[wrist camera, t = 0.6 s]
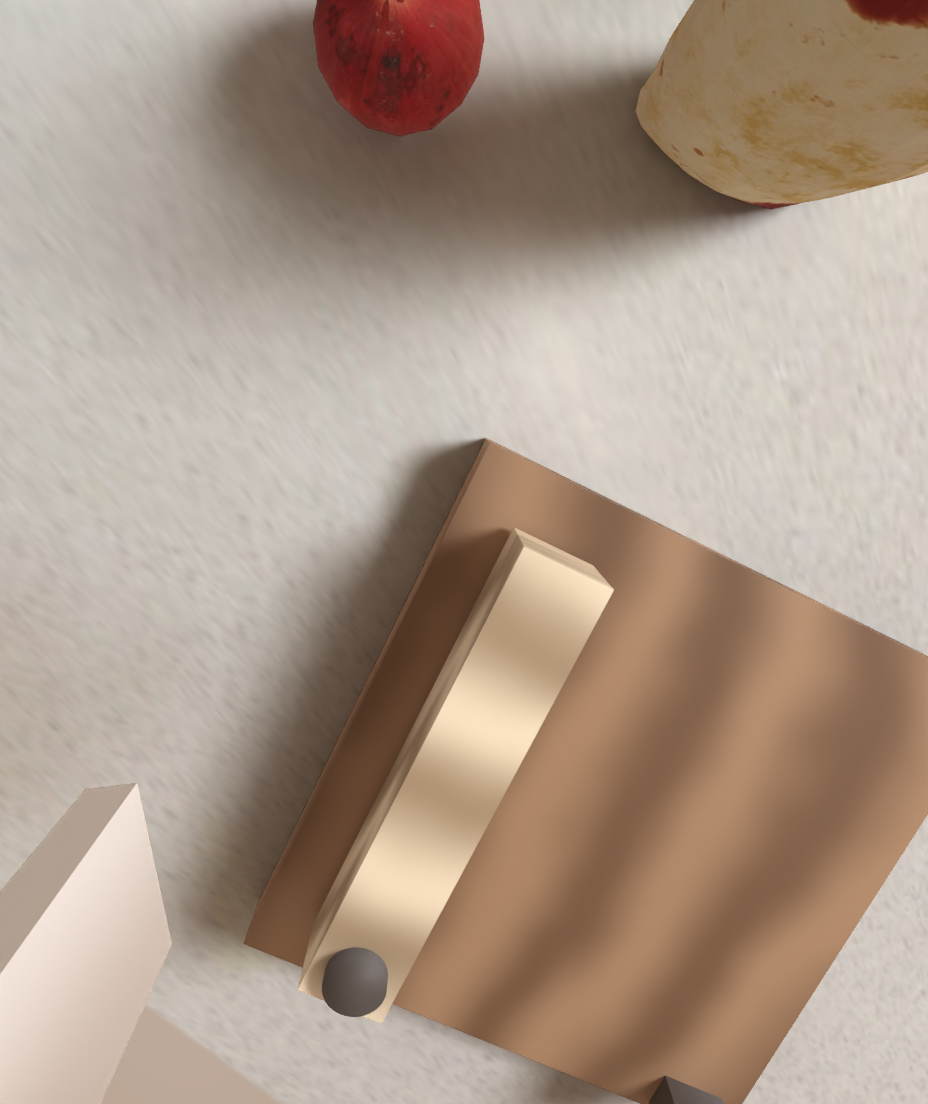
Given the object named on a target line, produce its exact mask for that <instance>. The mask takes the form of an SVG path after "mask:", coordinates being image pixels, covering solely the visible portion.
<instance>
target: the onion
mask: <svg viewBox="0 0 928 1104" xmlns="http://www.w3.org/2000/svg"><path fill="white" fill-rule="evenodd" d="M313 27H314V36H315V44H316V52H317V60H318V67H319V69H320V71H321V73H322V74H323V76H324V78H325V80H326V82H327V84H328V86H329V87H330V89H331V91H332V93H333V95H334V97H335V98H336V100H337V101H338V102H339V103H340V104H341V105H342V106H343V107H344V108H345V109H347V110H348V111H349V112H350V113H351V114H352V115H353V116H355V117H356V118H357V119H358V120H359V121H360V122H361V123H362V124H364V125H365V126H366V127H367V128H370V129H374V130H378V131H382V132H386V133H389V134H393V135H397V136H403V135H408V134H412V133H417V132H421V131H425V130H430V129H432V128H434V127H435V126H436V125H437V124H438V123H440V122H441V121H442V120H443V119H444V118H446V117H447V116H448V115H449V114H450V113H451V112H453V111H454V110H455V109H456V108H457V107H459V106H460V105H461V104H462V102H463V100H464V98H465V97H466V95H467V93H468V91H469V90H470V88H471V86H472V84H473V83H474V81H475V79H476V77H477V76H478V73H479V67H480V61H481V55H482V49H483V43H484V31H483V24H482V17H481V9H480V2H479V0H317V4H316V10H315V15H314V21H313Z"/></svg>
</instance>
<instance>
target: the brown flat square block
mask: <svg viewBox="0 0 928 1104" xmlns="http://www.w3.org/2000/svg"><path fill="white" fill-rule="evenodd" d="M514 527H515V528H517V529H519V530H521V531H523V532H525V533H527V534H529V535H531V536H533V537H535V538H537V539H539V540H541V541H544V542H546V543H548V544H550V545H552V546H554V547H556V548H558V549H560V550H562V551H564V552H566V553H568V554H571V555H573V556H575V557H577V558H579V559H581V560H583V561H585V562H587V563H589V564H591V565H593V566H594V567H595V568H596V569H597V571H598V572H599V573H600V574H601V575H602V576H603V578H604V579H605V580H606V581H607V582H608V583H609V585H610V586H611V587H612V588H613V589H614V591H613V593H612V595H611V597H610V599H609V600H608V602H607V604H606V606H605V608H604V610H603V612H602V613H601V615H600V617H599V619H598V621H597V623H596V625H595V626H594V628H593V630H592V632H591V634H590V636H589V638H588V640H587V641H586V643H585V645H584V647H583V649H582V651H581V653H580V654H579V656H578V658H577V660H576V662H575V664H574V666H573V667H572V669H571V671H570V673H569V675H568V677H567V679H566V681H565V682H564V684H563V686H562V688H561V690H560V692H559V694H558V695H557V697H556V699H555V701H554V703H553V705H552V707H551V708H550V710H549V712H548V714H547V716H546V718H545V720H544V722H543V723H542V725H541V727H540V729H539V731H538V733H537V735H536V736H535V738H534V740H533V742H532V744H531V746H530V748H529V749H528V751H527V753H526V755H525V757H524V759H523V761H522V763H521V764H520V766H519V768H518V770H517V772H516V774H515V776H514V777H513V779H512V781H511V783H510V785H509V787H508V789H507V790H506V792H505V794H504V796H503V798H502V800H501V802H500V804H499V805H498V807H497V809H496V811H495V813H494V815H493V817H492V818H491V820H490V822H489V824H488V826H487V828H486V830H485V831H484V833H483V835H482V837H481V839H480V841H479V843H478V845H477V846H476V848H475V850H474V852H473V854H472V856H471V858H470V859H469V861H468V863H467V865H466V867H465V869H464V871H463V872H462V874H461V876H460V878H459V880H458V882H457V884H456V886H455V887H454V889H453V891H452V893H451V895H450V897H449V899H448V900H447V902H446V904H445V906H444V908H443V910H442V912H441V913H440V915H439V917H438V919H437V921H436V923H435V925H434V927H433V928H432V930H431V932H430V934H429V936H428V938H427V940H426V941H425V943H424V945H423V947H422V949H421V951H420V953H419V954H418V956H417V958H416V960H415V962H414V964H413V966H412V968H411V969H410V971H409V973H408V975H407V977H406V979H405V981H404V982H403V984H402V986H401V988H400V990H399V992H398V994H397V995H396V997H395V999H394V1001H393V1003H392V1004H395V1005H397V1006H400V1007H402V1008H405V1009H407V1010H410V1011H412V1012H414V1013H417V1014H419V1015H422V1016H424V1017H427V1018H429V1019H432V1020H434V1021H437V1022H439V1023H442V1024H444V1025H447V1026H449V1027H452V1028H454V1029H457V1030H459V1031H462V1032H464V1033H467V1034H469V1035H472V1036H474V1037H477V1038H479V1039H482V1040H484V1041H487V1042H489V1043H492V1044H494V1045H496V1046H499V1047H501V1048H504V1049H506V1050H509V1051H511V1052H514V1053H516V1054H519V1055H521V1056H524V1057H526V1058H529V1059H531V1060H534V1061H536V1062H539V1063H541V1064H544V1065H546V1066H549V1067H551V1068H554V1069H556V1070H559V1071H561V1072H564V1073H566V1074H569V1075H571V1076H574V1077H576V1078H578V1079H581V1080H583V1081H586V1082H588V1083H591V1084H593V1085H596V1086H598V1087H601V1088H603V1089H606V1090H608V1091H611V1092H613V1093H616V1094H618V1095H621V1096H623V1097H626V1098H628V1099H631V1100H633V1101H636V1102H638V1103H641V1104H742V1103H743V1102H744V1100H745V1099H746V1097H747V1095H748V1094H749V1092H750V1091H751V1089H752V1088H753V1086H754V1084H755V1083H756V1081H757V1080H758V1078H759V1077H760V1075H761V1074H762V1072H763V1070H764V1069H765V1067H766V1066H767V1064H768V1063H769V1061H770V1060H771V1058H772V1056H773V1055H774V1053H775V1052H776V1050H777V1049H778V1047H779V1045H780V1044H781V1042H782V1041H783V1039H784V1038H785V1036H786V1035H787V1033H788V1031H789V1030H790V1028H791V1027H792V1025H793V1024H794V1022H795V1021H796V1019H797V1017H798V1016H799V1014H800V1013H801V1011H802V1010H803V1008H804V1006H805V1005H806V1003H807V1002H808V1000H809V999H810V997H811V996H812V994H813V992H814V991H815V989H816V988H817V986H818V985H819V983H820V982H821V980H822V978H823V977H824V975H825V974H826V972H827V971H828V969H829V968H830V966H831V964H832V963H833V961H834V960H835V958H836V957H837V955H838V953H839V952H840V950H841V949H842V947H843V946H844V944H845V943H846V941H847V939H848V938H849V936H850V935H851V933H852V932H853V930H854V929H855V927H856V925H857V924H858V922H859V921H860V919H861V918H862V916H863V914H864V913H865V911H866V910H867V908H868V907H869V905H870V904H871V902H872V900H873V899H874V897H875V896H876V894H877V893H878V891H879V890H880V888H881V886H882V885H883V883H884V882H885V880H886V879H887V877H888V875H889V874H890V872H891V871H892V869H893V868H894V866H895V865H896V863H897V861H898V860H899V858H900V857H901V855H902V854H903V852H904V851H905V849H906V847H907V846H908V844H909V843H910V841H911V840H912V838H913V836H914V835H915V833H916V832H917V830H918V829H919V827H920V826H921V824H922V822H923V821H924V819H925V818H926V816H927V815H928V656H926V655H924V654H922V653H920V652H918V651H916V650H914V649H912V648H910V647H908V646H906V645H904V644H902V643H900V642H898V641H896V640H894V639H892V638H890V637H888V636H886V635H884V634H882V633H880V632H878V631H876V630H874V629H872V628H870V627H868V626H865V625H863V624H861V623H859V622H857V621H855V620H853V619H851V618H849V617H847V616H845V615H843V614H841V613H839V612H837V611H835V610H833V609H831V608H829V607H827V606H825V605H823V604H821V603H819V602H817V601H815V600H813V599H811V598H809V597H807V596H805V595H803V594H801V593H799V592H797V591H795V590H793V589H791V588H789V587H786V586H784V585H782V584H780V583H778V582H776V581H774V580H772V579H770V578H768V577H766V576H764V575H762V574H760V573H758V572H756V571H754V570H752V569H750V568H748V567H746V566H744V565H742V564H740V563H738V562H736V561H734V560H732V559H730V558H728V557H726V556H724V555H722V554H720V553H718V552H716V551H714V550H712V549H710V548H708V547H705V546H703V545H701V544H699V543H697V542H695V541H693V540H691V539H689V538H687V537H685V536H683V535H681V534H679V533H677V532H675V531H673V530H671V529H669V528H667V527H665V526H663V525H661V524H659V523H657V522H655V521H653V520H651V519H649V518H647V517H645V516H643V515H641V514H639V513H637V512H635V511H633V510H631V509H629V508H626V507H624V506H622V505H620V504H618V503H616V502H614V501H612V500H610V499H608V498H606V497H604V496H602V495H600V494H598V493H596V492H594V491H592V490H590V489H588V488H586V487H584V486H582V485H580V484H578V483H576V482H574V481H572V480H570V479H568V478H566V477H564V476H562V475H560V474H558V473H556V472H554V471H552V470H550V469H547V468H545V467H543V466H541V465H539V464H537V463H535V462H533V461H531V460H529V459H527V458H525V457H523V456H521V455H519V454H517V453H515V452H513V451H511V450H509V449H507V448H505V447H503V446H501V445H499V444H497V443H495V442H493V441H491V440H489V439H487V438H486V439H485V441H484V443H483V445H482V447H481V449H480V451H479V453H478V455H477V457H476V459H475V461H474V463H473V465H472V467H471V469H470V471H469V473H468V475H467V477H466V479H465V481H464V484H463V486H462V488H461V490H460V492H459V494H458V496H457V498H456V500H455V502H454V504H453V506H452V508H451V510H450V512H449V514H448V516H447V518H446V520H445V522H444V524H443V526H442V528H441V530H440V532H439V535H438V537H437V539H436V541H435V543H434V545H433V547H432V549H431V551H430V553H429V555H428V557H427V559H426V561H425V563H424V565H423V567H422V569H421V571H420V573H419V575H418V577H417V579H416V581H415V583H414V586H413V588H412V590H411V592H410V594H409V596H408V598H407V600H406V602H405V604H404V606H403V608H402V610H401V612H400V614H399V616H398V618H397V620H396V622H395V624H394V626H393V628H392V630H391V632H390V634H389V637H388V639H387V641H386V643H385V645H384V647H383V649H382V651H381V653H380V655H379V657H378V659H377V661H376V663H375V665H374V667H373V669H372V671H371V673H370V675H369V677H368V679H367V681H366V683H365V685H364V688H363V690H362V692H361V694H360V696H359V698H358V700H357V702H356V704H355V706H354V708H353V710H352V712H351V714H350V716H349V718H348V720H347V722H346V724H345V726H344V728H343V730H342V732H341V734H340V736H339V739H338V741H337V743H336V745H335V747H334V749H333V751H332V753H331V755H330V757H329V759H328V761H327V763H326V765H325V767H324V769H323V771H322V773H321V775H320V777H319V779H318V781H317V783H316V785H315V787H314V790H313V792H312V794H311V796H310V798H309V800H308V802H307V804H306V806H305V808H304V810H303V812H302V814H301V816H300V818H299V820H298V822H297V824H296V826H295V828H294V830H293V832H292V834H291V836H290V838H289V841H288V843H287V845H286V847H285V849H284V851H283V853H282V855H281V857H280V859H279V861H278V863H277V865H276V867H275V869H274V871H273V873H272V875H271V877H270V879H269V881H268V883H267V885H266V887H265V889H264V892H263V894H262V896H261V898H260V900H259V902H258V905H257V908H256V910H255V913H254V916H253V919H252V922H251V924H250V927H249V930H248V933H247V936H246V939H245V941H244V944H246V945H248V946H250V947H253V948H255V949H258V950H260V951H263V952H265V953H268V954H270V955H273V956H275V957H278V958H280V959H283V960H285V961H288V962H290V963H293V964H295V965H298V966H300V967H303V965H304V961H305V956H306V952H307V948H308V944H309V940H310V935H311V931H312V927H313V923H314V921H315V919H316V917H317V915H318V913H319V911H320V909H321V907H322V905H323V903H324V901H325V899H326V897H327V895H328V893H329V891H330V889H331V887H332V885H333V883H334V881H335V879H336V877H337V875H338V873H339V871H340V869H341V867H342V865H343V863H344V861H345V859H346V857H347V855H348V854H349V852H350V850H351V848H352V846H353V844H354V842H355V840H356V838H357V836H358V834H359V832H360V830H361V828H362V826H363V824H364V822H365V820H366V818H367V816H368V814H369V812H370V810H371V808H372V806H373V804H374V802H375V800H376V798H377V796H378V794H379V792H380V790H381V788H382V786H383V784H384V782H385V780H386V778H387V776H388V775H389V773H390V771H391V769H392V767H393V765H394V763H395V761H396V759H397V757H398V755H399V753H400V751H401V749H402V747H403V745H404V743H405V741H406V739H407V737H408V735H409V733H410V731H411V729H412V727H413V725H414V723H415V721H416V719H417V717H418V715H419V713H420V711H421V709H422V707H423V705H424V703H425V701H426V699H427V697H428V696H429V694H430V692H431V690H432V688H433V686H434V684H435V682H436V680H437V678H438V676H439V674H440V672H441V670H442V668H443V666H444V664H445V662H446V660H447V658H448V656H449V654H450V652H451V650H452V648H453V646H454V644H455V642H456V640H457V638H458V636H459V634H460V632H461V630H462V628H463V626H464V624H465V622H466V620H467V618H468V617H469V615H470V613H471V611H472V609H473V607H474V605H475V603H476V601H477V599H478V597H479V595H480V593H481V591H482V589H483V587H484V585H485V583H486V581H487V579H488V577H489V575H490V573H491V571H492V569H493V567H494V565H495V563H496V561H497V559H498V557H499V555H500V553H501V551H502V549H503V547H504V545H505V543H506V541H507V539H508V538H509V536H510V534H511V532H512V530H513V528H514Z"/></svg>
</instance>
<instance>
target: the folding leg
mask: <svg viewBox="0 0 928 1104" xmlns="http://www.w3.org/2000/svg"><path fill="white" fill-rule="evenodd" d="M613 591H614V589H613V588H612V587H611V586H610V585H609V583H608V582H607V581H606V580H605V579H604V578H603V576H602V575H601V574H600V573H599V572H598V571H597V569H596V568H595V567H594V566H593V565H591V564H589V563H587V562H585V561H583V560H581V559H579V558H577V557H575V556H573V555H571V554H568V553H566V552H564V551H562V550H560V549H558V548H556V547H554V546H552V545H550V544H548V543H546V542H544V541H541V540H539V539H537V538H535V537H533V536H531V535H529V534H527V533H525V532H523V531H521V530H519V529H517V528H515V527H514V528H513V530H512V532H511V534H510V536H509V538H508V539H507V541H506V543H505V545H504V547H503V549H502V551H501V553H500V555H499V557H498V559H497V561H496V563H495V565H494V567H493V569H492V571H491V573H490V575H489V577H488V579H487V581H486V583H485V585H484V587H483V589H482V591H481V593H480V595H479V597H478V599H477V601H476V603H475V605H474V607H473V609H472V611H471V613H470V615H469V617H468V618H467V620H466V622H465V624H464V626H463V628H462V630H461V632H460V634H459V636H458V638H457V640H456V642H455V644H454V646H453V648H452V650H451V652H450V654H449V656H448V658H447V660H446V662H445V664H444V666H443V668H442V670H441V672H440V674H439V676H438V678H437V680H436V682H435V684H434V686H433V688H432V690H431V692H430V694H429V696H428V697H427V699H426V701H425V703H424V705H423V707H422V709H421V711H420V713H419V715H418V717H417V719H416V721H415V723H414V725H413V727H412V729H411V731H410V733H409V735H408V737H407V739H406V741H405V743H404V745H403V747H402V749H401V751H400V753H399V755H398V757H397V759H396V761H395V763H394V765H393V767H392V769H391V771H390V773H389V775H388V776H387V778H386V780H385V782H384V784H383V786H382V788H381V790H380V792H379V794H378V796H377V798H376V800H375V802H374V804H373V806H372V808H371V810H370V812H369V814H368V816H367V818H366V820H365V822H364V824H363V826H362V828H361V830H360V832H359V834H358V836H357V838H356V840H355V842H354V844H353V846H352V848H351V850H350V852H349V854H348V855H347V857H346V859H345V861H344V863H343V865H342V867H341V869H340V871H339V873H338V875H337V877H336V879H335V881H334V883H333V885H332V887H331V889H330V891H329V893H328V895H327V897H326V899H325V901H324V903H323V905H322V907H321V909H320V911H319V913H318V915H317V917H316V919H315V921H314V923H313V927H312V931H311V935H310V940H309V944H308V948H307V952H306V956H305V961H304V965H303V969H302V973H301V978H300V982H299V986H298V990H299V991H301V992H304V993H306V994H309V995H311V996H314V997H316V998H319V999H321V1000H324V1001H325V1002H326V1003H327V1004H328V1006H329V1007H330V1008H331V1009H333V1010H334V1011H335V1012H337V1013H339V1014H341V1015H344V1016H349V1017H359V1016H364V1017H367V1018H369V1019H372V1020H374V1021H377V1022H379V1023H382V1022H383V1020H384V1018H385V1016H386V1014H387V1012H388V1010H389V1009H390V1007H391V1005H392V1003H393V1001H394V999H395V997H396V995H397V994H398V992H399V990H400V988H401V986H402V984H403V982H404V981H405V979H406V977H407V975H408V973H409V971H410V969H411V968H412V966H413V964H414V962H415V960H416V958H417V956H418V954H419V953H420V951H421V949H422V947H423V945H424V943H425V941H426V940H427V938H428V936H429V934H430V932H431V930H432V928H433V927H434V925H435V923H436V921H437V919H438V917H439V915H440V913H441V912H442V910H443V908H444V906H445V904H446V902H447V900H448V899H449V897H450V895H451V893H452V891H453V889H454V887H455V886H456V884H457V882H458V880H459V878H460V876H461V874H462V872H463V871H464V869H465V867H466V865H467V863H468V861H469V859H470V858H471V856H472V854H473V852H474V850H475V848H476V846H477V845H478V843H479V841H480V839H481V837H482V835H483V833H484V831H485V830H486V828H487V826H488V824H489V822H490V820H491V818H492V817H493V815H494V813H495V811H496V809H497V807H498V805H499V804H500V802H501V800H502V798H503V796H504V794H505V792H506V790H507V789H508V787H509V785H510V783H511V781H512V779H513V777H514V776H515V774H516V772H517V770H518V768H519V766H520V764H521V763H522V761H523V759H524V757H525V755H526V753H527V751H528V749H529V748H530V746H531V744H532V742H533V740H534V738H535V736H536V735H537V733H538V731H539V729H540V727H541V725H542V723H543V722H544V720H545V718H546V716H547V714H548V712H549V710H550V708H551V707H552V705H553V703H554V701H555V699H556V697H557V695H558V694H559V692H560V690H561V688H562V686H563V684H564V682H565V681H566V679H567V677H568V675H569V673H570V671H571V669H572V667H573V666H574V664H575V662H576V660H577V658H578V656H579V654H580V653H581V651H582V649H583V647H584V645H585V643H586V641H587V640H588V638H589V636H590V634H591V632H592V630H593V628H594V626H595V625H596V623H597V621H598V619H599V617H600V615H601V613H602V612H603V610H604V608H605V606H606V604H607V602H608V600H609V599H610V597H611V595H612V593H613Z"/></svg>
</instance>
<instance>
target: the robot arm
mask: <svg viewBox="0 0 928 1104" xmlns="http://www.w3.org/2000/svg"><path fill="white" fill-rule="evenodd" d="M171 946H172V942H171V937H170V933H169V928H168V923H167V919H166V914H165V910H164V905H163V900H162V896H161V891H160V887H159V882H158V877H157V873H156V868H155V863H154V859H153V854H152V850H151V845H150V840H149V836H148V831H147V827H146V822H145V817H144V813H143V808H142V803H141V799H140V794H139V790H138V785H137V783H132V784H124V785H116V786H108V787H100V788H92V789H85V790H84V791H83V793H82V794H81V795H80V796H79V797H78V799H77V800H76V801H75V802H74V804H73V805H72V806H71V807H70V808H69V810H68V811H67V812H66V813H65V814H64V816H63V817H62V818H61V819H60V820H59V822H58V823H57V824H56V825H55V826H54V828H53V829H52V830H51V831H50V832H49V834H48V835H47V836H46V837H45V838H44V840H43V841H42V842H41V843H40V845H39V846H38V847H37V848H36V849H35V851H34V852H33V853H32V854H31V855H30V857H29V858H28V859H27V860H26V861H25V863H24V864H23V865H22V866H21V867H20V869H19V870H18V871H17V872H16V873H15V875H14V876H13V877H12V878H11V879H10V881H9V882H8V883H7V884H6V886H5V887H4V888H3V889H2V890H1V892H0V1104H101V1102H102V1100H103V1097H104V1095H105V1093H106V1091H107V1088H108V1086H109V1084H110V1082H111V1080H112V1077H113V1075H114V1073H115V1070H116V1068H117V1066H118V1064H119V1062H120V1059H121V1057H122V1055H123V1053H124V1051H125V1048H126V1046H127V1044H128V1042H129V1039H130V1037H131V1035H132V1033H133V1030H134V1028H135V1026H136V1024H137V1022H138V1019H139V1017H140V1015H141V1013H142V1010H143V1008H144V1006H145V1004H146V1002H147V999H148V997H149V995H150V993H151V990H152V988H153V986H154V984H155V982H156V979H157V977H158V975H159V973H160V970H161V968H162V966H163V964H164V962H165V959H166V957H167V955H168V953H169V950H170V948H171Z"/></svg>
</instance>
